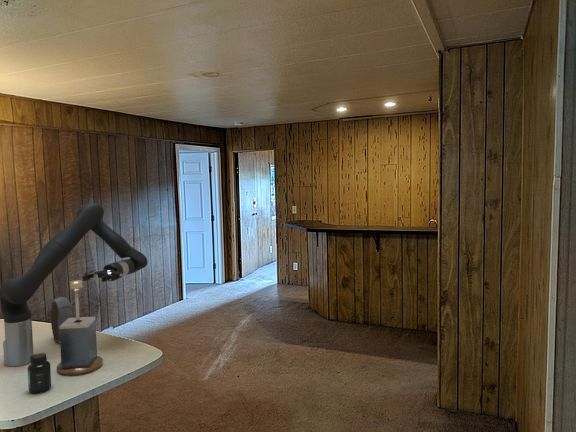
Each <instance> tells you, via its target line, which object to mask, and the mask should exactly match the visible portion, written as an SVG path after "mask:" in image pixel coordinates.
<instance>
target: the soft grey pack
mask: <svg viewBox="0 0 576 432" xmlns="http://www.w3.org/2000/svg"><path fill="white" fill-rule="evenodd" d="M68 318H76V314H75V311H74V308H73V305H72V303H71V302H70V300H68V298H67V297H66V296H65V297H63V296H58V297H57V298H56V299H55V298H54V299H52V301H51V305H50V325H51V332H52V336H53V340H54V341H55V342H57V343H60V330H59V326H60V325H61V324H63V323H64V322H65V321H66V320H67V319H68Z"/></svg>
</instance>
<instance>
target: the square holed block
mask: <svg viewBox="0 0 576 432" xmlns="http://www.w3.org/2000/svg"><path fill="white" fill-rule="evenodd" d="M79 317H80V316H79ZM96 324H97V323H96V316H82V317H80V322H76V317H75V318H68V319H67V320H66V321H65V322H64V323H63V324H61V325H60V326H59V330H60V342H59V349H60V362H59V363H58V364H57V366H56V373H57V374H58V375H60V376H63V377H77V376H83V375H84V376H85V375H88V374H90V373H93V372H96V371H97V370H99V369H100V368H101V367H102V366H103V363H104V361H103V360H104V359H103V358H102V356H100V355H98V343H97V340H98V339H97V325H96Z"/></svg>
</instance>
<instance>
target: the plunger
mask: <svg viewBox="0 0 576 432" xmlns="http://www.w3.org/2000/svg"><path fill="white" fill-rule="evenodd" d="M83 283H84V281H83V279H82V280H81V279H77V280H70V281H69V291H74V301H75V304H74V305H75V318H76V322H80V302H79V301H80V300H79V298H80V297H79V296H80V295H79V291H81V290H83V289H84V288H83V287H84V285H83Z"/></svg>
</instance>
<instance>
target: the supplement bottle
mask: <svg viewBox="0 0 576 432" xmlns="http://www.w3.org/2000/svg"><path fill="white" fill-rule="evenodd" d="M51 370H52V369H51V362H49V361H48V359H47V354H46V353H44V352H41V353H40V352H39V353H36V354H35V353H34V355H32V356H31V357H30V363H29V365H28V366H27V384H28V385H27V386H28V392H29V393H30V394H32V395H33V394H34V395H37V394H43V393H45V392H47V391H49V390H50V389H51V388H52V376H51V375H52V371H51Z"/></svg>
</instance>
